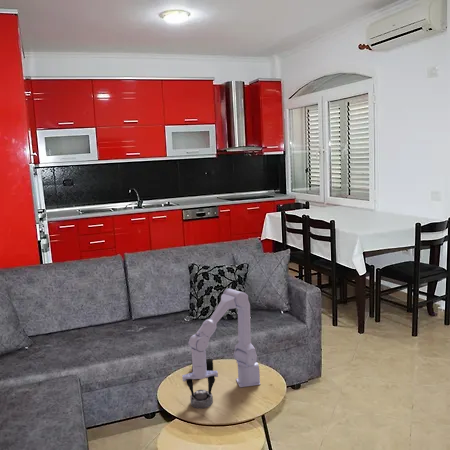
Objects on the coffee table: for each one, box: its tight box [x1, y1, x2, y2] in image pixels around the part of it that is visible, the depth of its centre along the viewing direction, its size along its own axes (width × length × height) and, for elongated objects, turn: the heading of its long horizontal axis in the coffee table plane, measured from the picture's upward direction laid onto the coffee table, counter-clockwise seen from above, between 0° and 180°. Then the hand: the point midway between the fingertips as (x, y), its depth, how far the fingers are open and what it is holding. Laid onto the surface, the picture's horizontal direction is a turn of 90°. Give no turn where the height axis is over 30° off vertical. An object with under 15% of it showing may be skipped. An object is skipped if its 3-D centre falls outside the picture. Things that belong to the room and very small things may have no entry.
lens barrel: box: [190, 390, 214, 410], centre depth 193 cm, size 9×9×3 cm
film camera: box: [191, 358, 214, 371], centre depth 220 cm, size 15×10×9 cm, turn 179°
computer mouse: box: [194, 389, 208, 400], centre depth 193 cm, size 5×5×4 cm
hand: (201, 394), depth 193 cm, fingers open, 6 cm apart
